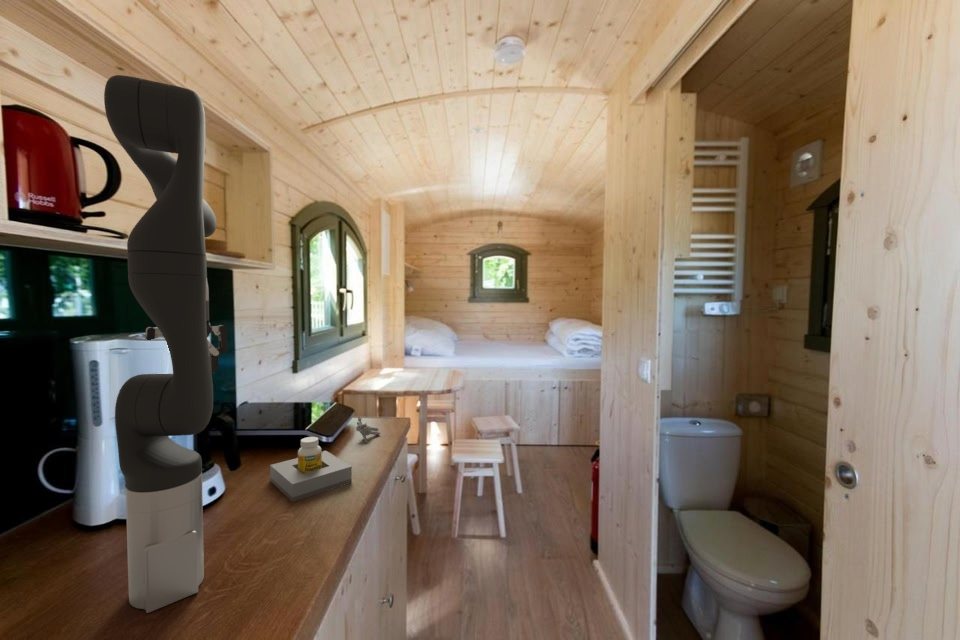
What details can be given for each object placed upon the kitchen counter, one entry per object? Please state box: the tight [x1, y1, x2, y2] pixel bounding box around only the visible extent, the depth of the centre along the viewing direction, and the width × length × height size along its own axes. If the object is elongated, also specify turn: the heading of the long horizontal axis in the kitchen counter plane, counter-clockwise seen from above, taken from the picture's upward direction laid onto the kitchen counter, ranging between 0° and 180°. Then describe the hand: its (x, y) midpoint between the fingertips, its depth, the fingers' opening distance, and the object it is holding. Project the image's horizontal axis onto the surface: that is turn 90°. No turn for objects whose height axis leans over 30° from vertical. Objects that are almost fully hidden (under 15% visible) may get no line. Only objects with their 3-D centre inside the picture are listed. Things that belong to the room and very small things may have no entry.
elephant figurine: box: [355, 416, 381, 444], centre depth 132 cm, size 10×6×9 cm
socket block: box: [269, 450, 353, 503], centre depth 100 cm, size 14×14×4 cm
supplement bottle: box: [297, 436, 323, 474], centre depth 100 cm, size 5×5×10 cm
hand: (188, 374), depth 87 cm, fingers open, 8 cm apart
